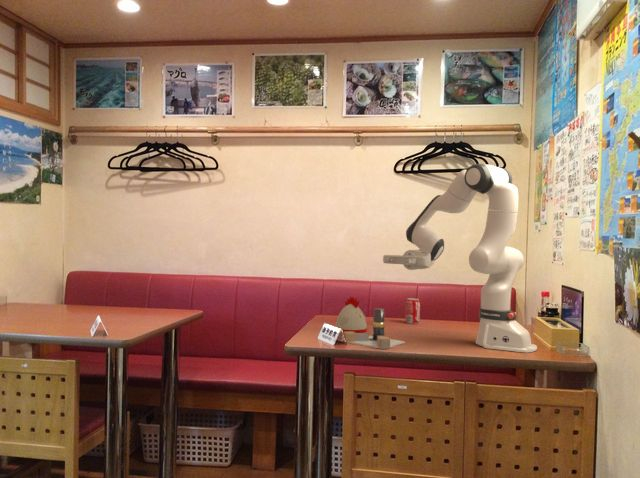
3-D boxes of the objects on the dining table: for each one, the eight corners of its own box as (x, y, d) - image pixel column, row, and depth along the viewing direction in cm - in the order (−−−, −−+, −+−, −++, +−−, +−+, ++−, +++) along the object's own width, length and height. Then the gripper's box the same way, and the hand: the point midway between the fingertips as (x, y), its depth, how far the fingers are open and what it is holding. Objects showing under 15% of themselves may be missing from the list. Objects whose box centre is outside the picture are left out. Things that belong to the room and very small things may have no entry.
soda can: (418, 322, 249) (419, 298, 249) (420, 324, 242) (420, 299, 242) (404, 321, 250) (405, 297, 250) (405, 324, 243) (406, 299, 243)
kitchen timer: (350, 335, 211) (351, 299, 211) (328, 330, 222) (329, 296, 222) (373, 331, 221) (374, 297, 221) (351, 327, 231) (352, 294, 231)
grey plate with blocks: (408, 343, 196) (408, 333, 196) (386, 350, 183) (386, 340, 183) (357, 335, 211) (357, 326, 211) (334, 341, 197) (334, 331, 197)
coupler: (386, 339, 199) (387, 309, 199) (380, 341, 196) (381, 310, 196) (376, 337, 202) (377, 308, 202) (370, 339, 199) (370, 309, 199)
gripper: (391, 251, 227) (376, 252, 216) (434, 253, 215) (419, 253, 204) (391, 265, 227) (375, 266, 216) (433, 268, 215) (419, 269, 204)
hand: (397, 260), depth 210 cm, fingers open, 8 cm apart
